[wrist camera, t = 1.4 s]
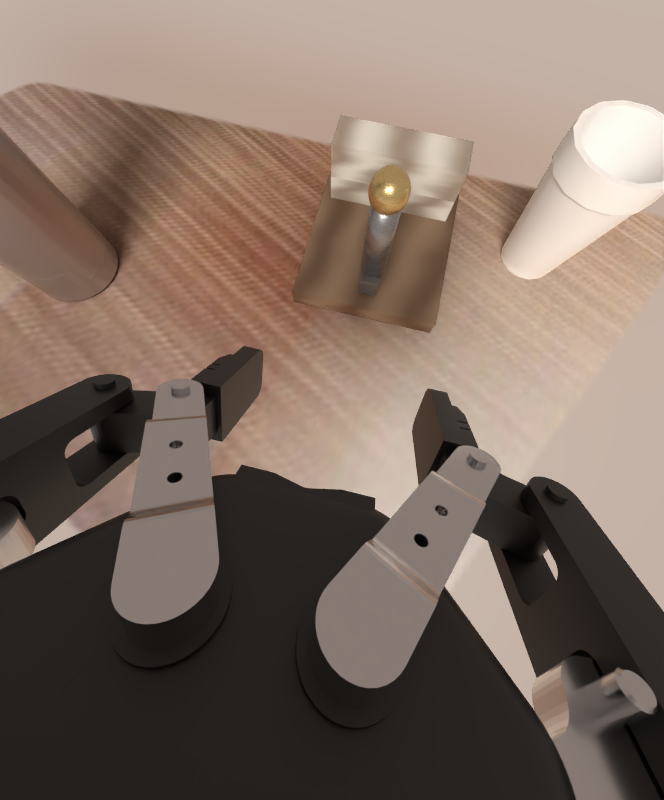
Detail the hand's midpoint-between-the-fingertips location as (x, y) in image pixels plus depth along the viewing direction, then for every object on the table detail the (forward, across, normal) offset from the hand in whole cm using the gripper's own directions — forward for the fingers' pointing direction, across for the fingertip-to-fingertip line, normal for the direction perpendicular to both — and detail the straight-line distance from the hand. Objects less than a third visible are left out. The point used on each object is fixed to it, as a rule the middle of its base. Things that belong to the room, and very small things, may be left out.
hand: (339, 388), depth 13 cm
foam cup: (+33, -18, -6) cm, 38 cm away
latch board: (+30, 0, -3) cm, 30 cm away
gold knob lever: (+26, 0, -3) cm, 26 cm away
